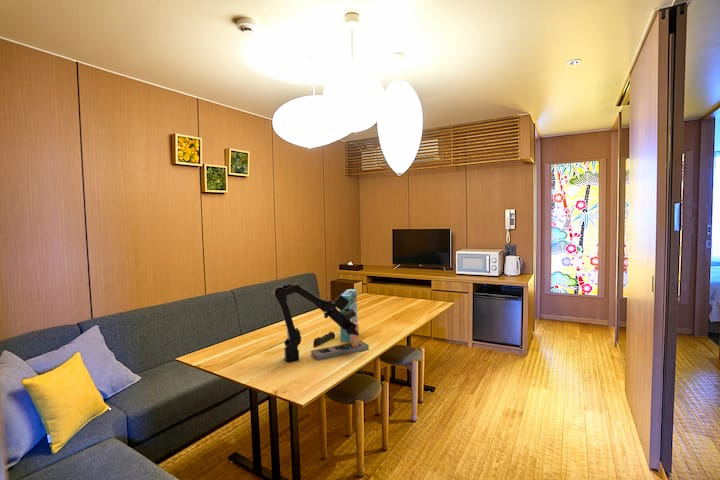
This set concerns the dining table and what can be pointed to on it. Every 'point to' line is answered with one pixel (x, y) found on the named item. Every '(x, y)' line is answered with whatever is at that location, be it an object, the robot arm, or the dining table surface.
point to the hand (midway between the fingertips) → (357, 333)
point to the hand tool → (323, 339)
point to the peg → (355, 337)
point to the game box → (352, 298)
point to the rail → (338, 350)
